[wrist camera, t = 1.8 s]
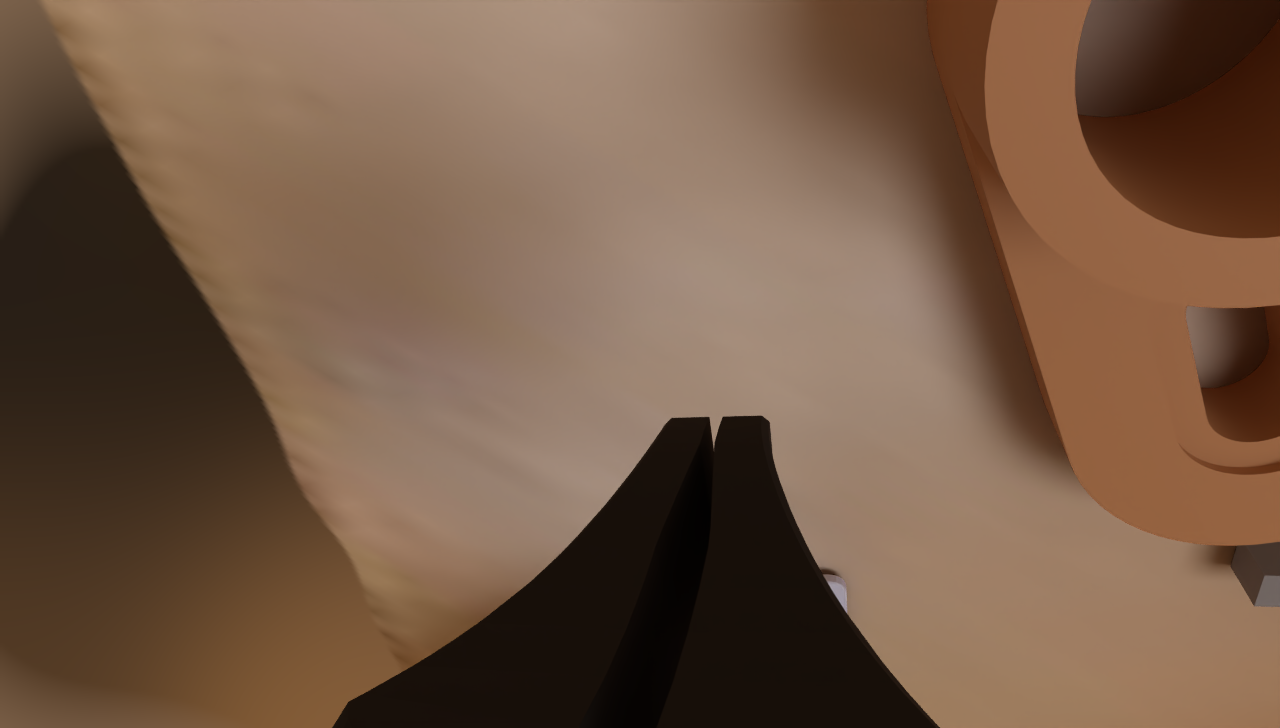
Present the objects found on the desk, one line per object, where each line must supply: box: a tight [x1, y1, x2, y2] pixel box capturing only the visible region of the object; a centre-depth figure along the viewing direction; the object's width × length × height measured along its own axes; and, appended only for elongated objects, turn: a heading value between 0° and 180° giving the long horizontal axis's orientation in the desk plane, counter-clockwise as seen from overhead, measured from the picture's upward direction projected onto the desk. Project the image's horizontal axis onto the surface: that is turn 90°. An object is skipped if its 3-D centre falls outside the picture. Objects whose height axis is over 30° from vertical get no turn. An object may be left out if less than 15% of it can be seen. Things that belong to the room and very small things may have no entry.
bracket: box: [927, 0, 1280, 546], centre depth 15 cm, size 18×8×7 cm, turn 28°
